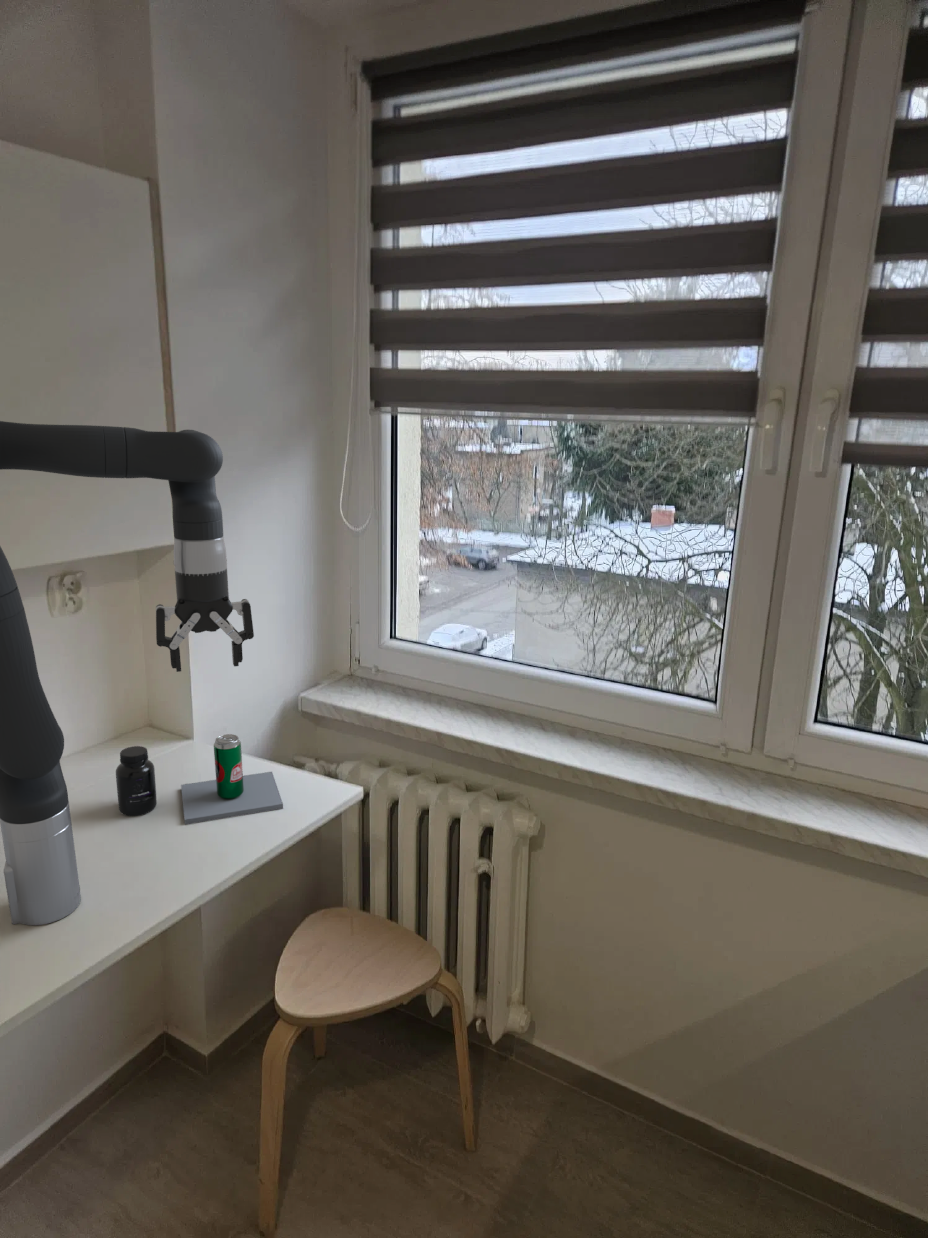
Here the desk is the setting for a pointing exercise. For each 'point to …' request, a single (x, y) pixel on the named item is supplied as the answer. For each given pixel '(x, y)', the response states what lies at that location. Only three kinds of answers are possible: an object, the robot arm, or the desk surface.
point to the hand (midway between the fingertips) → (207, 667)
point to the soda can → (228, 766)
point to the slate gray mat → (209, 806)
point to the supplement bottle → (135, 782)
